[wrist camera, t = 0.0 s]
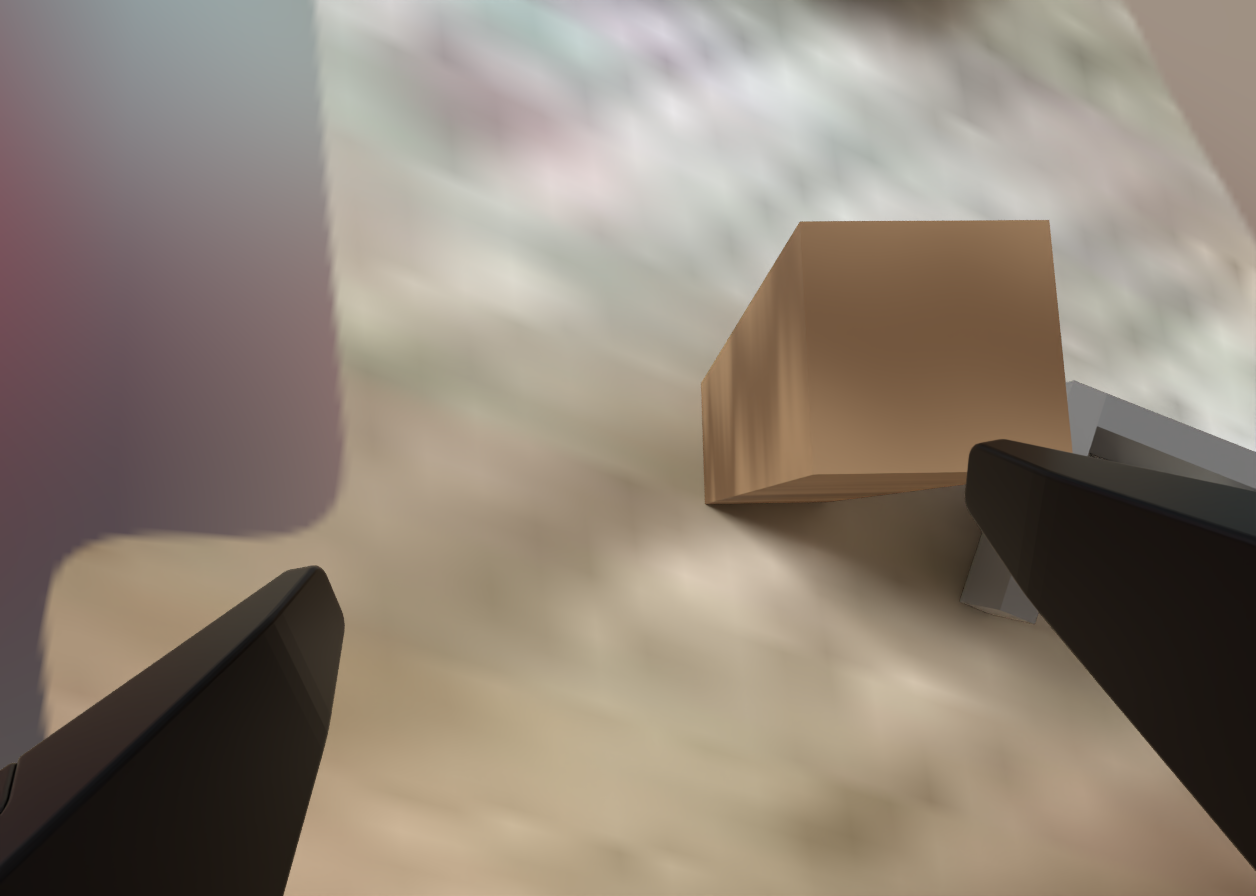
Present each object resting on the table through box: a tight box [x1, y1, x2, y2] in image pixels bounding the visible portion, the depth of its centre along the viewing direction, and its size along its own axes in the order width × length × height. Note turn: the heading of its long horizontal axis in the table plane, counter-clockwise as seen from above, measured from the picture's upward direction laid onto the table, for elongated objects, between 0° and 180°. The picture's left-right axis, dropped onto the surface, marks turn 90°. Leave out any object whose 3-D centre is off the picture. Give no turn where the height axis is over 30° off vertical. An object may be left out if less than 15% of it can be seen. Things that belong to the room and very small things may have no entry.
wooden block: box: [701, 220, 1073, 504], centre depth 18 cm, size 4×4×13 cm
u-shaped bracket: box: [960, 381, 1256, 624], centre depth 23 cm, size 8×9×2 cm
